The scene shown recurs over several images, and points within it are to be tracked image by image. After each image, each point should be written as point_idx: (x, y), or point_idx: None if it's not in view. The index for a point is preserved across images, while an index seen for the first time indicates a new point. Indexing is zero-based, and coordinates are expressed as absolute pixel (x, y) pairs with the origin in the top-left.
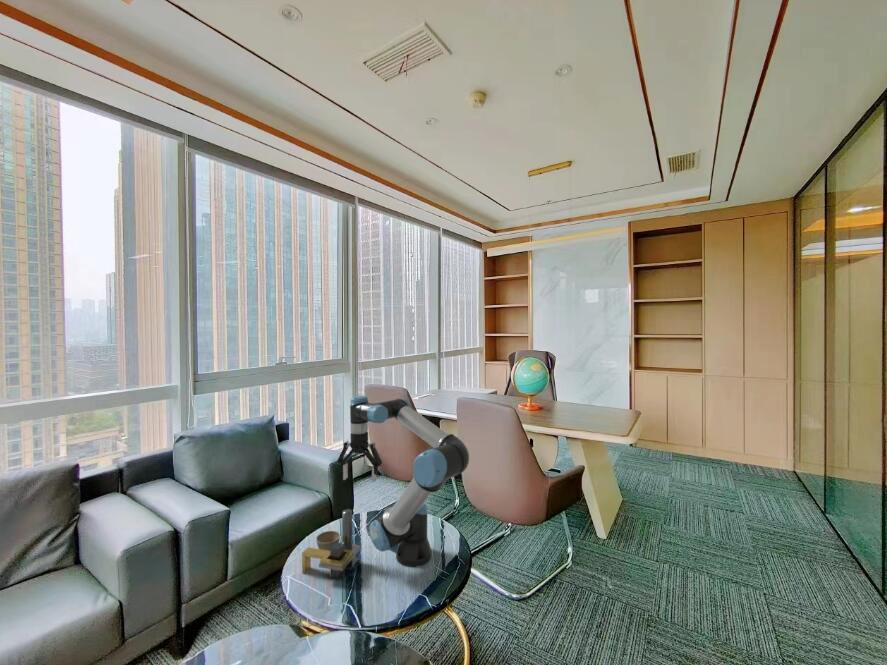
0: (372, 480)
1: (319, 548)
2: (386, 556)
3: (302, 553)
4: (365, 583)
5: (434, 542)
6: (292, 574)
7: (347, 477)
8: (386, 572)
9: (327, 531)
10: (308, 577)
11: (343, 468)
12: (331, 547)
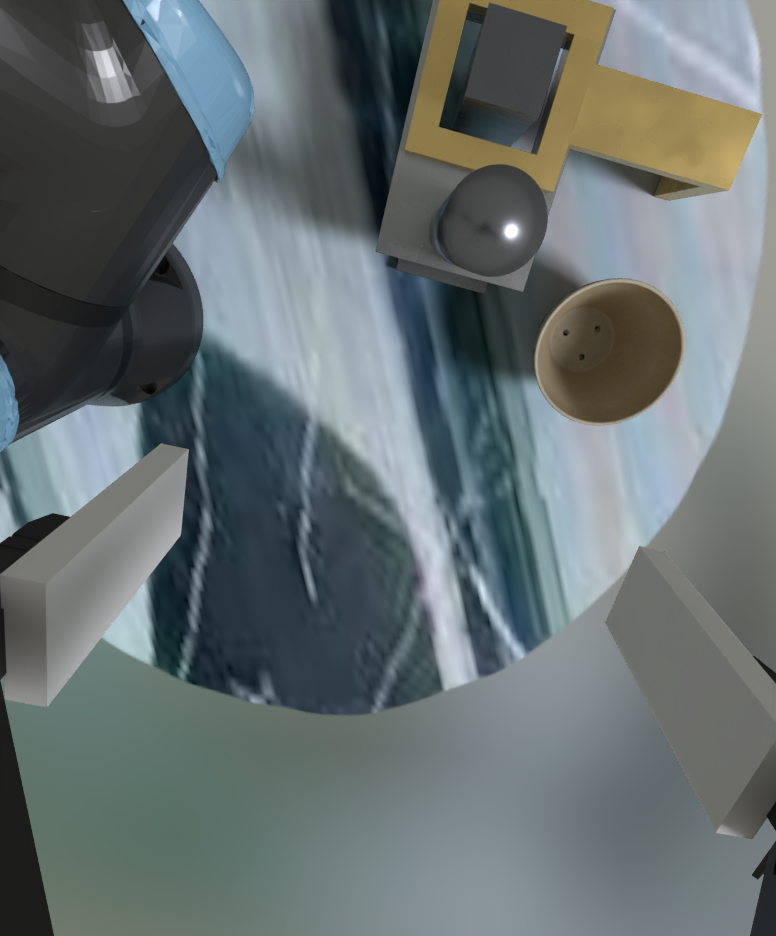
0: (168, 457)
1: (640, 299)
2: (255, 305)
3: (756, 113)
4: (311, 40)
5: (36, 432)
6: None
7: (608, 619)
8: None
9: (624, 418)
10: None
11: (762, 677)
12: (558, 34)
